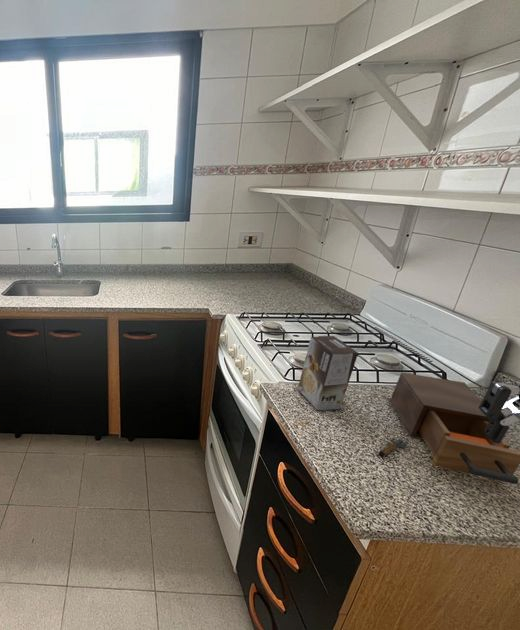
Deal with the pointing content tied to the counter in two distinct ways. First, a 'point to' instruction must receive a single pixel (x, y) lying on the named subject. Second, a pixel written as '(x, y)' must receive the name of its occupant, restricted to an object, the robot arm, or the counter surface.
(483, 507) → the counter surface
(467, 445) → the drawer
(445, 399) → the cabinet
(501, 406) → the robot arm
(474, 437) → the orange block
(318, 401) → the coffee box
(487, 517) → the counter surface
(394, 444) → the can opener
